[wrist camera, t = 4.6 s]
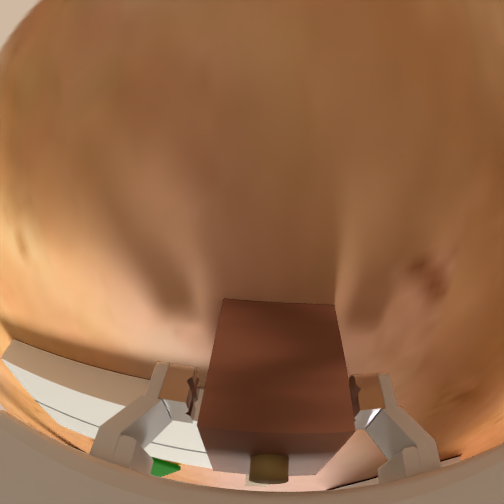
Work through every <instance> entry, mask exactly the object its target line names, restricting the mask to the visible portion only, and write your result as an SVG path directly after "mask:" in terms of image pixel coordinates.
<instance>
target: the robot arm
mask: <svg viewBox="0 0 504 504" xmlns="http://www.w3.org/2000/svg"><path fill="white" fill-rule="evenodd" d="M197 374H198V371H197V367H191V366H185V365H178V364H172V363H167V362H161V361H158V362H157V364H156V365H155V368H154V370H153V373H152V376H151V379H150V382H149V384H148V387H147V390H146V393H145V395H140V396H139V397H138V398H136V399H135V400H134V401H133V402H131V403H130V404H129V405H127V406H126V407H125V408H123V409H122V410H121V411H119V412H118V413H117V414H115V415H114V416H113V417H111V418H110V419H109V420H107V421H106V422H105V423H103V424H102V425H101V426H100V427H99V429H98V432H97V434H96V437H95V440H94V443H93V445H92V448H91V451H90V454H87V453H85V452H82V451H80V450H78V449H75V448H73V447H71V446H69V445H66V444H64V443H62V442H60V441H58V440H56V439H54V438H52V437H50V436H48V435H46V434H44V433H42V432H40V431H38V430H37V429H35V428H33V427H31V426H29V425H28V424H26V423H24V422H23V421H21V420H19V419H18V418H16V417H14V416H13V415H11V414H10V413H8V412H6V411H4V410H0V504H504V442H503V443H501V444H499V445H497V446H495V447H492V448H490V449H488V450H486V451H484V452H481V453H479V454H477V455H474V456H472V457H469V458H467V459H464V460H462V461H461V458H460V456H459V457H456V458H452V459H449V460H445V461H442V462H440V458H439V454H438V449H437V445H436V440H435V439H434V438H433V437H432V436H431V435H430V434H428V433H427V432H426V431H425V430H424V429H423V428H422V427H421V426H420V425H419V424H418V423H417V422H416V421H415V420H414V419H413V418H412V417H411V416H410V415H409V414H408V413H407V412H406V411H405V410H404V409H403V408H402V407H398V405H397V401H396V397H395V393H394V390H393V386H392V382H391V378H390V375H389V374H388V373H369V374H353V375H351V376H350V378H349V387H350V394H351V400H352V407H353V414H354V422H355V430H358V429H365V431H366V432H367V433H368V434H369V436H370V437H371V438H372V440H373V441H374V442H375V444H376V445H377V446H378V448H379V449H380V450H381V452H382V453H383V454H384V455H385V457H386V458H387V459H388V461H387V462H386V463H384V464H383V465H382V466H380V467H379V468H378V469H377V471H378V477H377V478H374V479H371V480H368V481H364V482H360V483H356V484H352V485H348V486H344V487H340V488H337V489H333V490H324V491H307V492H264V491H247V490H235V489H225V488H217V487H210V486H203V485H197V484H191V483H186V482H181V481H176V480H171V479H167V478H162V477H158V476H154V475H150V474H151V470H152V465H153V461H154V460H153V459H152V457H151V456H150V455H149V454H148V453H147V452H146V451H145V450H144V449H145V448H146V447H147V446H148V445H149V444H150V443H151V442H152V441H153V440H154V439H155V438H156V437H157V436H158V435H159V434H160V433H161V432H162V431H163V430H164V429H165V428H166V427H167V426H168V425H169V424H170V423H171V422H172V420H173V421H180V422H186V423H193V421H194V416H195V412H196V408H195V404H194V403H195V402H196V401H197V400H198V398H199V392H200V380H199V378H198V377H197Z"/></svg>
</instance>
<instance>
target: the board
mask: <svg viewBox="0 0 504 504" xmlns="http://www.w3.org/2000/svg"><path fill="white" fill-rule="evenodd" d="M1 359H2V360H3V362H4V363H5V364H6V366H7V367H8V368H9V370H10V371H11V372H12V373H13V375H14V376H15V377H16V378H17V380H18V381H19V382H20V383H21V384H22V386H23V387H24V388H25V389H26V390H27V391H28V393H29V394H30V395H31V396H32V397H33V398H34V399H35V401H36V402H38V404H39V405H40V406H41V407H42V408H43V409H44V410H45V411H46V412H47V413H48V414H49V415H50V416H51V417H52V418H53V419H54V420H55V421H56V422H57V423H58V424H59V425H61V426H63V427H66V428H68V429H70V430H73V431H75V432H78V433H80V434H82V435H85V436H88V437H90V438H93V439H95V437H96V434H97V432H98V429H99V427H100V426H101V425H102V424H103V423H105V422H106V421H107V420H109V419H110V418H111V417H113V416H114V415H115V414H117V413H118V412H119V411H121V410H122V409H123V408H125V407H126V406H127V405H129V404H130V403H131V402H133V401H134V400H135V399H136V398H138V397H139V396H140V395H145V393H146V390H147V387H148V384H149V382H150V380H147V379H142V378H138V377H133V376H129V375H124V374H120V373H116V372H112V371H108V370H104V369H101V368H97V367H93V366H90V365H86V364H83V363H80V362H76V361H73V360H70V359H67V358H64V357H61V356H58V355H55V354H52V353H49V352H46V351H43V350H41V349H38V348H35V347H33V346H30V345H27V344H25V343H22V342H20V341H17V340H15V339H13V340H12V342H11V343H10V345H9V346H8V348H7V349H6V351H5V352H4V354H3V355H2V357H1ZM203 392H204V389H201V388H200V392H199V398H198V400H197V401H196V402H195V403H194V404H195V408H196V412H195V416H194V421H193V423H186V422H180V421H173V420H172V422H171V423H170V424H169V425H168V426H167V427H166V428H165V429H164V430H163V431H162V432H161V433H160V434H159V435H158V436H157V437H156V438H155V439H154V440H153V441H152V442H151V443H150V444H149V445H148V446H147V447H146V448H145V449H144V450H145V451H146V452H147V453H148V454H149V455H150V456H151V457H155V458H159V459H163V460H168V461H172V462H177V463H182V464H188V465H193V466H199V467H206V468H212V466H211V463H210V461H209V458H208V455H207V453H206V450H205V447H204V445H203V442H202V439H201V436H200V434H199V431H198V428H197V421H198V416H199V412H200V407H201V402H202V397H203Z"/></svg>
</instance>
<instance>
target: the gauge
mask: <svg viewBox="0 0 504 504" xmlns="http://www.w3.org/2000/svg"><path fill="white" fill-rule="evenodd" d="M197 428H198V431H199V434H200V436H201V439H202V442H203V445H204V447H205V450H206V453H207V455H208V458H209V461H210V463H211V466H212V468H213V471H221V472H230V473H240V474H246V485H245V486H259V487H269V486H270V484H281V483H286V482H288V476H301V475H316V474H317V473H318V472H319V471H320V470H321V469H322V468H323V467H324V465H325V464H326V463H327V462H328V461H329V460H330V459H331V458H332V457H333V456H334V455H335V454H336V453H337V452H338V451H339V449H340V448H341V447H342V446H343V445H344V444H345V443H346V442H347V440H348V439H349V438H350V437H351V436H352V434H353V433H354V432H355V431H356V430H355V422H354V414H353V407H352V400H351V394H350V387H349V381H348V375H347V369H346V363H345V358H344V352H343V347H342V341H341V336H340V331H339V326H338V321H337V316H336V311H335V307H334V305H322V304H298V303H279V302H263V301H248V300H234V299H224V301H223V305H222V310H221V314H220V319H219V323H218V328H217V332H216V337H215V341H214V346H213V350H212V355H211V360H210V364H209V369H208V373H207V378H206V383H205V388H204V392H203V397H202V402H201V407H200V412H199V416H198V421H197Z"/></svg>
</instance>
